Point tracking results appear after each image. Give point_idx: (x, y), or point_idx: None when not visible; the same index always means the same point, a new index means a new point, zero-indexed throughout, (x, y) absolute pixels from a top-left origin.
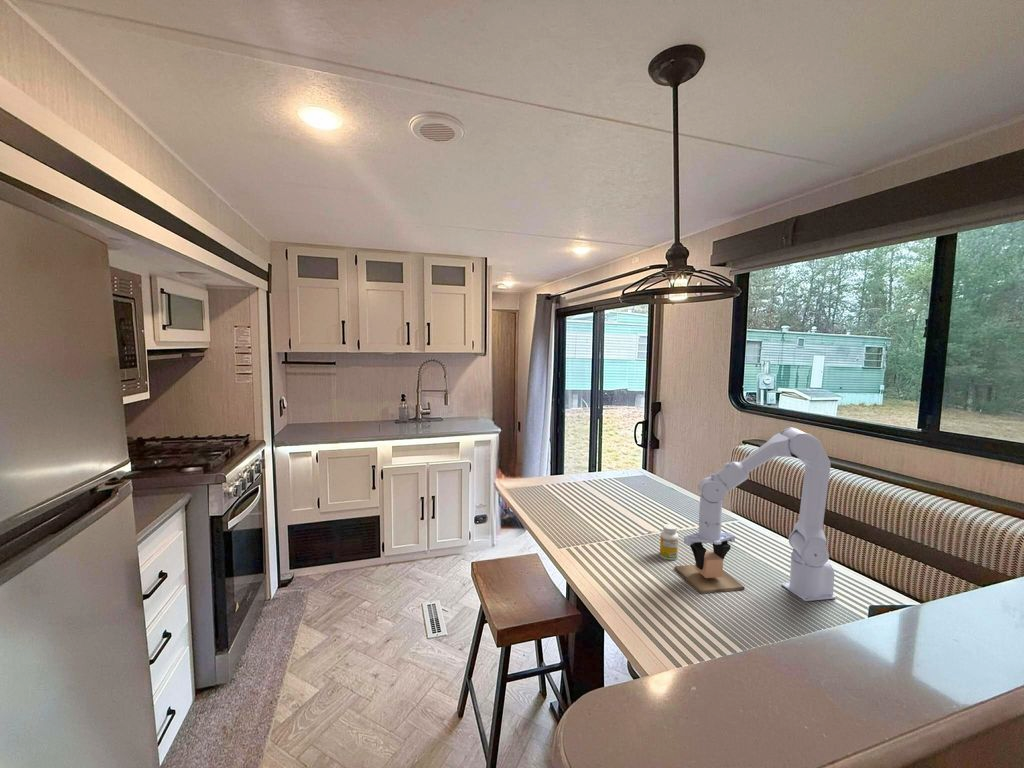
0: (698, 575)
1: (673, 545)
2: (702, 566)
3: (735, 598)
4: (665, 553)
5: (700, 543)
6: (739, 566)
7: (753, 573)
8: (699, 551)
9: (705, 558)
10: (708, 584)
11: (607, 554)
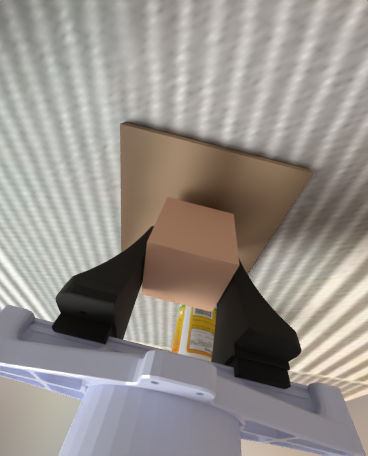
0: None
1: (203, 338)
2: None
3: (213, 80)
4: None
5: (248, 373)
6: (57, 224)
7: (33, 185)
8: (292, 329)
9: (223, 277)
10: (241, 191)
11: (314, 352)
